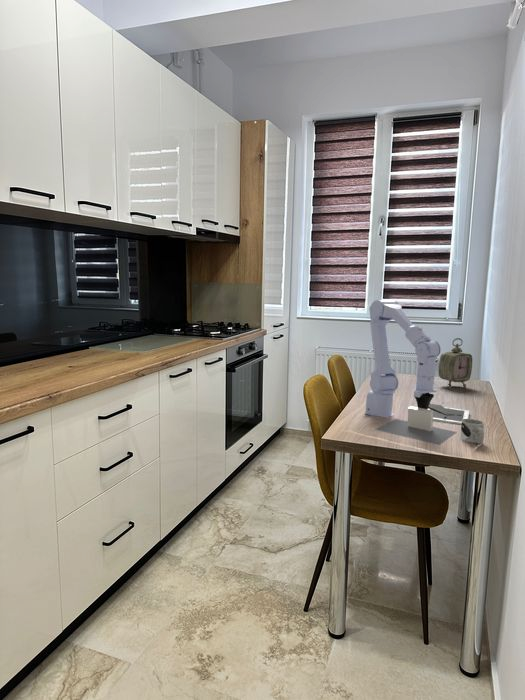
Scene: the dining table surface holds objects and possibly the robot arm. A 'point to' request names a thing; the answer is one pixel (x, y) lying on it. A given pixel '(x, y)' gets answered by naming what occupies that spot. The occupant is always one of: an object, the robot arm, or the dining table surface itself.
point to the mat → (416, 432)
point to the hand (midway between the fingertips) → (422, 414)
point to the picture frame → (448, 414)
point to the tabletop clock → (455, 365)
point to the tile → (420, 418)
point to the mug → (472, 431)
